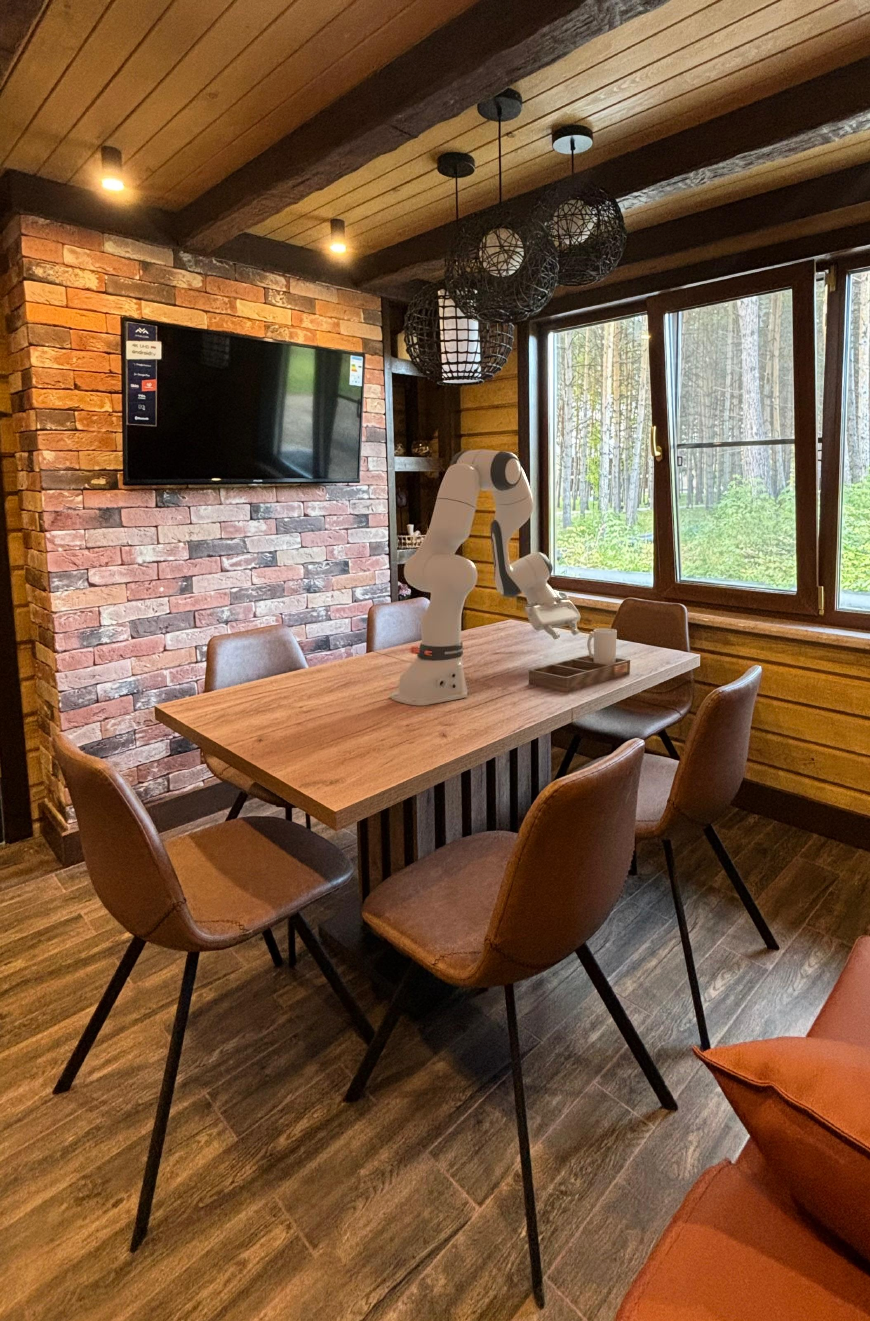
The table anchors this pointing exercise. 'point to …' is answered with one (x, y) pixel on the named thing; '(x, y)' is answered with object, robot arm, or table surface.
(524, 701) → the table surface
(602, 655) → the mug
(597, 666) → the tray
